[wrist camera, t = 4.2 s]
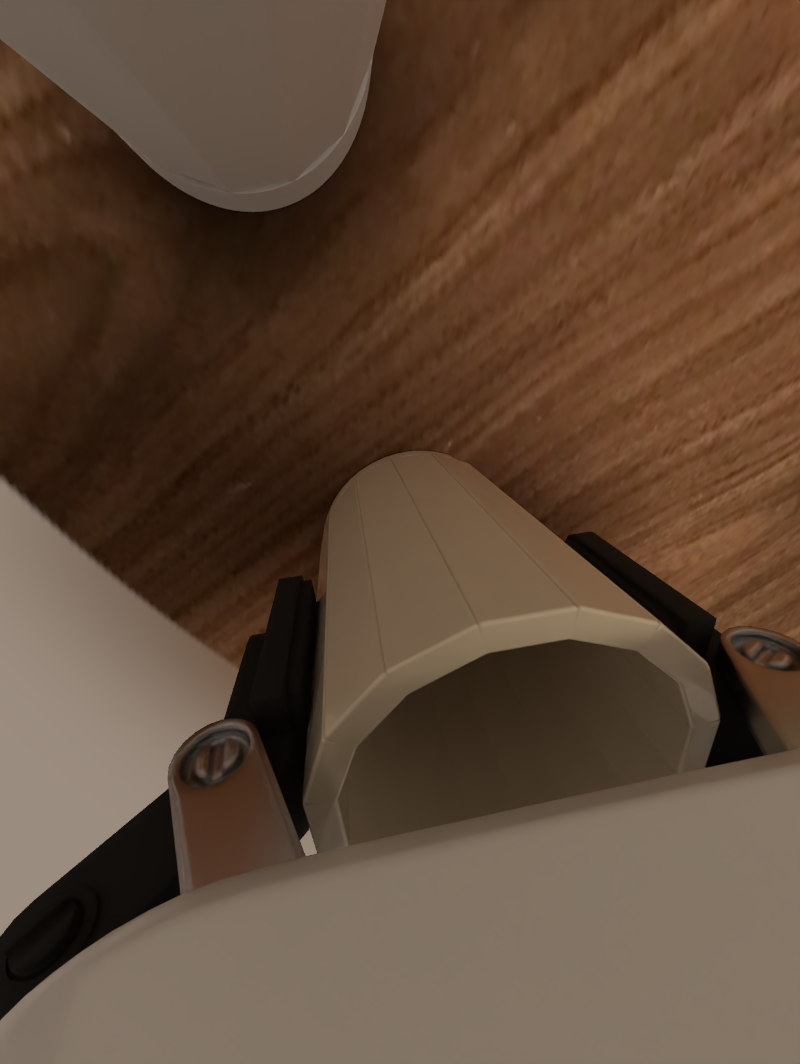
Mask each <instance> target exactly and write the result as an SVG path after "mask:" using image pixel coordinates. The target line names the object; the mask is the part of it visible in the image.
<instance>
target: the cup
mask: <svg viewBox="0 0 800 1064" xmlns="http://www.w3.org/2000/svg"><path fill="white" fill-rule="evenodd" d="M385 4H386V0H0V39H1V40H2V41H3V42H4V43H5V44H7V45H8V46H9V47H10V48H12V49H13V50H14V51H15V52H17V53H18V54H19V55H20V56H22V57H23V58H24V59H25V60H27V61H28V62H29V63H30V64H32V65H33V66H34V67H35V68H37V69H38V70H39V71H40V72H42V73H43V74H44V75H45V76H47V77H48V78H49V79H50V80H51V81H53V82H54V83H55V84H56V85H58V86H59V87H60V88H61V89H63V90H64V91H65V92H66V93H68V94H69V95H70V96H71V97H73V98H74V99H75V100H76V101H78V102H79V103H80V104H81V105H83V106H84V107H85V108H86V109H88V110H89V111H90V112H91V113H93V114H94V115H95V116H96V117H97V118H99V119H100V120H101V121H102V122H104V123H105V124H106V125H107V126H109V127H110V128H111V129H112V130H114V131H115V132H116V133H117V134H118V135H119V136H120V137H121V138H122V139H123V140H124V141H125V142H126V143H127V144H128V145H129V146H130V148H131V149H132V150H133V151H134V152H135V153H136V154H137V155H138V156H139V157H141V158H142V159H143V160H144V161H145V162H146V163H147V164H148V165H149V166H150V167H151V168H152V169H153V170H154V171H155V172H157V173H158V174H159V175H160V176H162V177H163V178H164V179H166V180H167V181H168V182H170V183H171V184H172V185H174V186H175V187H177V188H179V189H180V190H182V191H183V192H185V193H187V194H189V195H191V196H193V197H195V198H197V199H199V200H201V201H203V202H206V203H208V204H211V205H214V206H217V207H221V208H225V209H229V210H235V211H243V212H261V211H269V210H274V209H279V208H282V207H285V206H288V205H291V204H293V203H295V202H298V201H300V200H301V199H303V198H305V197H307V196H308V195H310V194H311V193H313V192H314V191H315V190H317V189H318V188H319V187H320V186H321V185H322V184H324V183H325V182H326V181H327V180H328V179H329V177H330V176H331V175H332V174H333V173H334V172H335V171H336V169H337V168H338V167H339V165H340V164H341V162H342V161H343V159H344V158H345V156H346V154H347V153H348V151H349V149H350V147H351V145H352V143H353V141H354V139H355V137H356V134H357V132H358V129H359V126H360V123H361V120H362V117H363V114H364V110H365V106H366V101H367V96H368V91H369V84H370V76H371V68H372V60H373V53H374V49H375V45H376V41H377V37H378V33H379V29H380V25H381V20H382V16H383V12H384V8H385Z"/></svg>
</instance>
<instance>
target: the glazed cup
mask: <svg viewBox="0 0 800 1064" xmlns="http://www.w3.org/2000/svg"><path fill="white" fill-rule="evenodd" d="M720 717H721V715H720V711H719V706H718V702H717V697H716V693H715V688H714V684H713V679H712V675H711V670H710V667H709V665H708V663H707V661H706V660H705V659H703V658H702V657H701V656H700V655H699V654H698V653H697V652H695V651H694V650H693V649H692V648H691V647H690V646H688V645H687V644H686V643H685V642H684V641H683V640H682V639H680V638H679V637H678V636H677V635H676V634H675V633H673V632H672V631H671V630H670V629H669V628H668V627H667V626H665V625H664V624H663V623H662V622H661V621H659V620H658V619H657V618H656V617H655V616H653V615H652V614H651V613H650V612H649V611H647V610H646V609H645V608H644V607H642V606H641V605H640V604H639V603H638V602H636V601H635V600H634V599H633V598H632V597H630V596H629V595H628V594H627V593H626V592H624V591H623V590H622V589H621V588H619V587H618V586H617V585H616V584H615V583H613V582H612V581H611V580H610V579H609V578H607V577H606V576H605V575H604V574H602V573H601V572H600V571H599V570H598V569H596V568H595V567H594V566H593V565H592V564H590V563H589V562H588V561H587V560H586V559H584V558H583V557H582V556H581V555H579V554H578V553H577V552H576V551H575V550H573V549H572V548H571V547H570V546H569V545H567V544H566V543H565V542H564V541H562V540H561V539H560V538H559V537H558V536H556V535H555V534H554V533H553V532H552V531H550V530H549V529H548V528H547V527H545V526H544V525H543V524H542V523H541V522H539V521H538V520H537V519H536V518H535V517H533V516H532V515H531V514H530V513H529V512H527V511H526V510H525V509H524V508H522V507H521V506H520V505H519V504H518V503H516V502H515V501H514V500H513V499H512V498H510V497H509V496H508V495H507V494H505V493H504V492H503V491H502V490H501V489H499V488H498V487H497V486H496V485H495V484H493V483H492V482H491V481H490V480H489V479H487V478H486V477H485V476H484V475H482V474H481V473H480V472H479V471H478V470H476V469H475V468H474V467H473V466H472V465H470V464H468V463H466V462H464V461H462V460H460V459H458V458H455V457H453V456H450V455H447V454H443V453H438V452H433V451H408V452H403V453H397V454H394V455H391V456H387V457H384V458H382V459H380V460H378V461H376V462H374V463H372V464H370V465H368V466H367V467H365V468H364V469H362V470H361V471H359V472H358V473H357V474H356V475H355V476H354V477H352V478H351V479H350V480H349V481H348V482H347V483H346V485H345V486H344V487H343V488H342V489H341V491H340V492H339V494H338V495H337V496H336V498H335V499H334V501H333V504H332V506H331V508H330V510H329V512H328V515H327V518H326V521H325V527H324V533H323V539H322V542H321V552H320V565H319V579H318V593H317V606H316V620H315V633H314V647H313V661H312V674H311V688H310V701H309V715H308V728H307V742H306V756H305V769H304V783H303V796H302V799H303V801H302V805H303V808H304V811H305V815H306V818H307V821H308V825H309V828H310V831H311V834H312V838H313V841H314V844H315V848H316V850H317V854H318V853H322V852H326V851H330V850H335V849H339V848H343V847H347V846H351V845H355V844H360V843H364V842H368V841H372V840H376V839H381V838H385V837H390V836H394V835H399V834H404V833H408V832H413V831H417V830H422V829H426V828H431V827H435V826H440V825H444V824H449V823H453V822H458V821H462V820H467V819H471V818H476V817H480V816H485V815H489V814H494V813H498V812H503V811H507V810H512V809H516V808H521V807H526V806H530V805H535V804H539V803H544V802H549V801H553V800H558V799H563V798H567V797H572V796H577V795H581V794H586V793H590V792H595V791H600V790H604V789H609V788H614V787H618V786H623V785H628V784H632V783H637V782H642V781H646V780H651V779H656V778H660V777H665V776H670V775H674V774H679V773H684V772H688V771H693V770H698V769H703V768H705V767H706V764H707V761H708V758H709V755H710V752H711V749H712V745H713V742H714V739H715V736H716V733H717V730H718V727H719V724H720Z"/></svg>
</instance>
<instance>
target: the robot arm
mask: <svg viewBox="0 0 800 1064" xmlns="http://www.w3.org/2000/svg"><path fill="white" fill-rule="evenodd" d="M564 542H565V543H566V544H567V545H569V546H570V547H571V548H572V549H573V550H575V551H576V552H577V553H578V554H579V555H581V556H582V557H583V558H584V559H586V560H587V561H588V562H589V563H590V564H592V565H593V566H594V567H595V568H596V569H598V570H599V571H600V572H601V573H602V574H604V575H605V576H606V577H607V578H609V579H610V580H611V581H612V582H613V583H615V584H616V585H617V586H618V587H619V588H621V589H622V590H623V591H624V592H626V593H627V594H628V595H629V596H630V597H632V598H633V599H634V600H635V601H636V602H638V603H639V604H640V605H641V606H642V607H644V608H645V609H646V610H647V611H649V612H650V613H651V614H652V615H653V616H655V617H656V618H657V619H658V620H659V621H661V622H662V623H663V624H664V625H665V626H667V627H668V628H669V629H670V630H671V631H672V632H673V633H675V634H676V635H677V636H678V637H679V638H680V639H682V640H683V641H684V642H685V643H686V644H687V645H688V646H690V647H691V648H692V649H693V650H694V651H695V652H697V653H698V654H699V655H700V656H701V657H702V658H703V659H705V660H706V661H707V663H708V665H709V667H710V670H711V675H712V679H713V684H714V688H715V693H716V697H717V702H718V706H719V711H720V715H721V717H720V724H719V727H718V730H717V733H716V736H715V739H714V742H713V745H712V749H711V752H710V755H709V758H708V761H707V764H706V767H705V768H703V769H698V770H693V771H688V772H684V773H679V774H674V775H670V776H665V777H660V778H656V779H651V780H646V781H642V782H637V783H632V784H628V785H623V786H618V787H614V788H609V789H604V790H600V791H595V792H590V793H586V794H581V795H577V796H572V797H567V798H563V799H558V800H553V801H549V802H544V803H539V804H535V805H530V806H526V807H521V808H516V809H512V810H507V811H503V812H498V813H494V814H489V815H485V816H480V817H476V818H471V819H467V820H462V821H458V822H453V823H449V824H444V825H440V826H435V827H431V828H426V829H422V830H417V831H413V832H408V833H404V834H399V835H394V836H390V837H385V838H381V839H376V840H372V841H368V842H364V843H360V844H355V845H351V846H347V847H343V848H339V849H335V850H330V851H326V852H322V853H318V854H314V855H310V856H305V853H304V851H303V848H302V846H301V843H300V840H301V838H302V837H303V836H304V835H305V834H306V832H307V831H308V830H309V825H308V821H307V818H306V815H305V811H304V808H303V805H302V801H303V799H302V796H303V783H304V769H305V756H306V742H307V728H308V715H309V701H310V688H311V674H312V661H313V647H314V633H315V620H316V606H317V603H316V598H315V593H314V588H313V584H312V581H311V580H306V581H304V579H303V576H302V575H301V576H295V577H288V578H281V579H279V581H278V585H277V589H276V593H275V597H274V601H273V605H272V609H271V613H270V617H269V621H268V625H267V629H266V633H263V634H257V635H252V636H250V637H249V640H248V642H247V645H246V649H245V652H244V655H243V659H242V662H241V665H240V668H239V672H238V675H237V678H236V682H235V685H234V688H233V692H232V695H231V698H230V701H229V705H228V708H227V712H226V715H225V718H224V720H219V721H217V722H214V723H211V724H209V725H207V726H205V727H204V728H202V729H200V730H199V731H197V732H195V733H194V734H193V735H192V736H191V737H189V738H188V739H187V740H186V741H185V742H184V743H183V744H182V745H181V747H180V748H179V749H178V750H177V752H176V753H175V754H174V757H173V759H172V761H171V763H170V766H169V771H168V785H169V789H167V790H166V791H165V792H164V793H163V794H161V795H160V796H159V797H158V798H157V799H155V800H154V801H153V802H152V803H151V804H149V805H148V806H147V807H146V808H145V809H143V810H142V811H141V812H140V813H139V814H137V815H136V816H135V817H134V818H133V819H131V820H130V821H129V822H128V823H127V824H126V825H124V826H123V827H122V828H121V829H119V830H118V831H117V832H116V833H115V834H113V835H112V836H111V837H110V838H109V839H107V840H106V841H105V842H104V843H103V844H102V845H100V846H99V847H98V848H96V849H95V850H94V851H93V852H92V853H90V854H89V855H88V856H87V857H86V858H85V859H83V860H82V861H81V862H80V863H78V865H76V866H75V867H74V868H72V869H71V870H70V871H69V872H68V873H66V874H65V875H64V876H63V877H62V878H61V879H59V880H58V881H57V882H56V883H54V884H53V885H52V886H51V887H50V888H48V889H47V890H46V891H45V892H44V893H42V894H41V895H40V896H39V897H38V898H36V899H35V900H34V901H33V902H32V903H31V904H30V905H29V906H28V907H27V908H26V909H24V911H22V912H21V913H20V914H19V915H18V916H17V917H16V918H15V919H14V920H13V922H12V923H11V924H10V925H9V926H8V928H7V929H6V930H5V931H4V933H3V934H2V935H1V936H0V1064H800V642H798V641H796V640H794V639H793V638H790V637H788V636H786V635H783V634H781V633H778V632H775V631H771V630H768V629H764V628H758V627H752V626H737V627H732V628H728V629H727V630H725V631H724V632H722V634H721V633H720V632H718V631H717V630H716V629H714V626H715V622H716V618H715V617H714V616H712V615H711V614H709V613H708V612H706V611H705V610H704V609H702V608H701V607H699V606H698V605H696V604H695V603H694V602H692V601H691V600H689V599H688V598H686V597H685V596H684V595H682V594H681V593H679V592H678V591H676V590H675V589H673V588H672V587H671V586H669V585H668V584H666V583H665V582H663V581H662V580H661V579H659V578H658V577H656V576H655V575H653V574H652V573H651V572H649V571H648V570H646V569H645V568H643V567H642V566H641V565H639V564H638V563H636V562H635V561H633V560H632V559H630V558H629V557H628V556H626V555H625V554H623V553H622V552H620V551H619V550H618V549H616V548H615V547H613V546H612V545H610V544H609V543H608V542H606V541H605V540H603V539H602V538H600V537H599V536H598V535H596V534H595V533H593V532H585V533H578V534H572V535H569V536H568V537H567V539H566V541H564Z"/></svg>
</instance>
